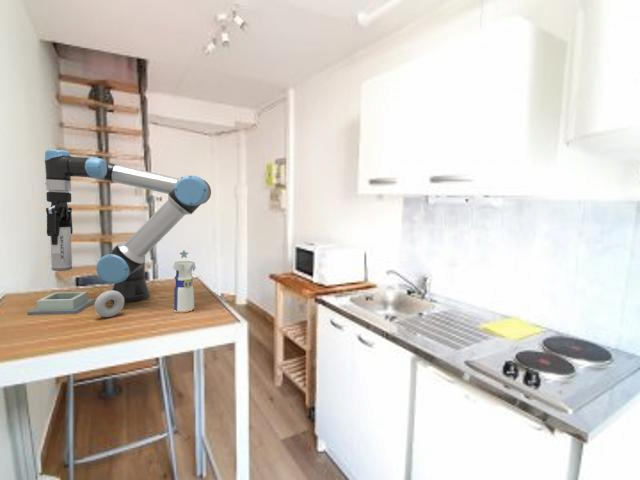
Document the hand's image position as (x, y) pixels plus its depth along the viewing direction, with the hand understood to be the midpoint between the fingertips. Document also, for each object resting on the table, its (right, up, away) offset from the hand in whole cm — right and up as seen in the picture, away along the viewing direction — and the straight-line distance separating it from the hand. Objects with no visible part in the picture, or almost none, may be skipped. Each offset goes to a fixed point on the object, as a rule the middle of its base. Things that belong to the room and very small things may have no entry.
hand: (61, 251), depth 132 cm
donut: (+23, -24, -6) cm, 33 cm away
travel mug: (0, -7, +1) cm, 7 cm away
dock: (-1, -22, +2) cm, 22 cm away
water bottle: (+46, -24, +5) cm, 52 cm away
